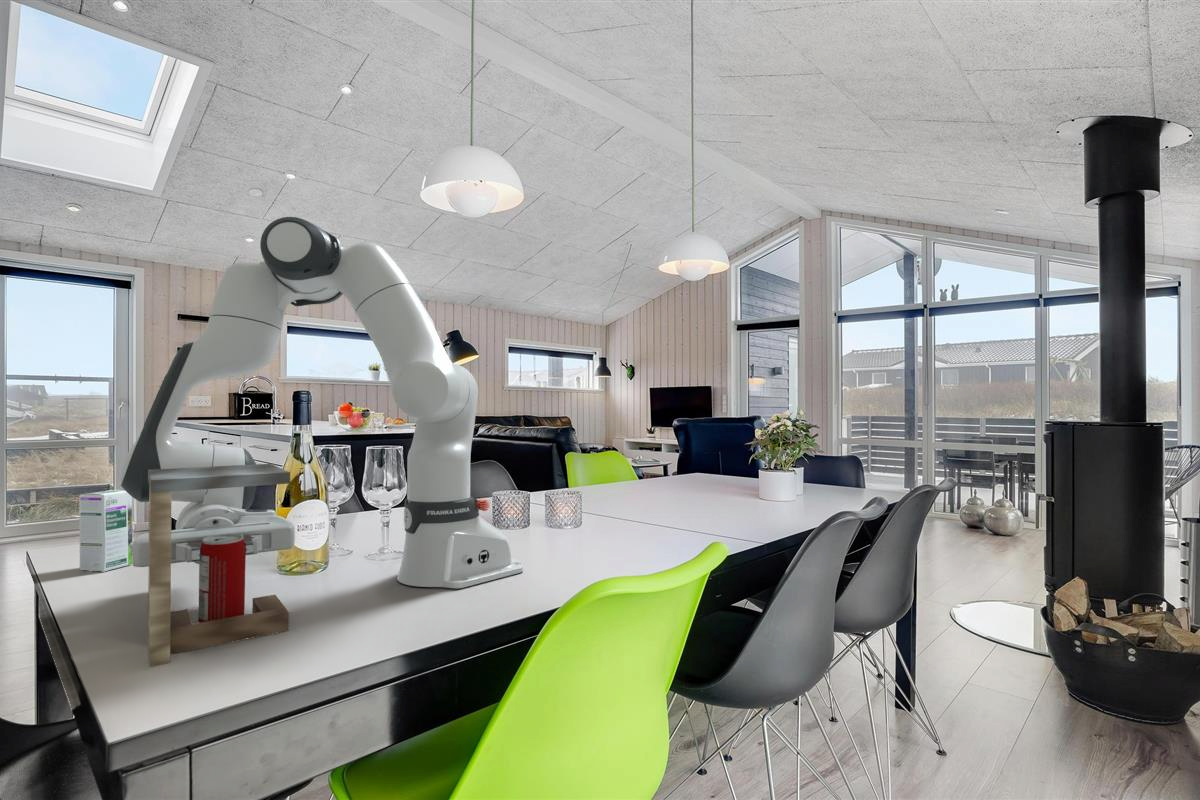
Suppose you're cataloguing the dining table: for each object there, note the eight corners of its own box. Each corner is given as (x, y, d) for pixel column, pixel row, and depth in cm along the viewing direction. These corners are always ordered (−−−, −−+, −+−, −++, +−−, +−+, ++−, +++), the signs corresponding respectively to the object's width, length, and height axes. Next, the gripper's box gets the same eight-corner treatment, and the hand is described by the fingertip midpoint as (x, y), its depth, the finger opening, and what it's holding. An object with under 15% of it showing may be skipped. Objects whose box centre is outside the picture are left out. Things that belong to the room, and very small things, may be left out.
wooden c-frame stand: (269, 608, 94) (270, 463, 94) (289, 637, 82) (290, 472, 82) (146, 629, 85) (148, 469, 85) (149, 666, 73) (151, 480, 73)
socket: (275, 611, 93) (275, 594, 93) (288, 630, 85) (288, 612, 85) (160, 631, 84) (160, 613, 84) (163, 655, 76) (164, 635, 76)
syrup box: (103, 572, 114) (104, 494, 114) (77, 570, 115) (78, 493, 115) (132, 564, 119) (133, 489, 120) (107, 563, 121) (108, 489, 121)
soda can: (253, 616, 88) (255, 533, 88) (220, 631, 83) (222, 542, 83) (222, 611, 90) (224, 529, 89) (188, 625, 84) (189, 538, 84)
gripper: (129, 522, 90) (129, 538, 79) (284, 508, 102) (302, 521, 91) (129, 565, 90) (128, 588, 79) (284, 546, 102) (302, 564, 91)
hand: (223, 552), depth 85 cm, fingers closed on soda can, 5 cm apart
